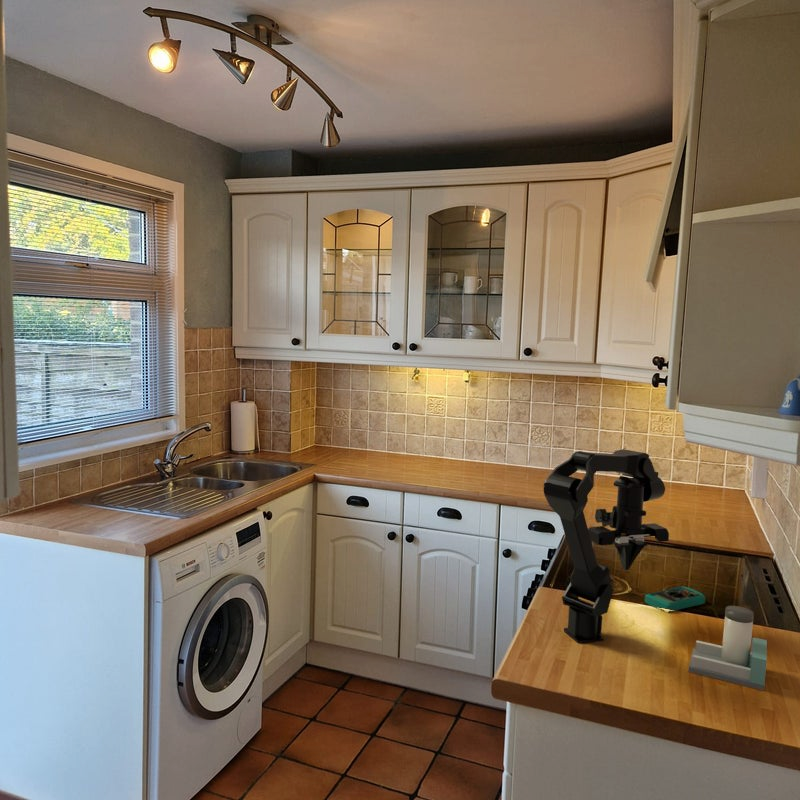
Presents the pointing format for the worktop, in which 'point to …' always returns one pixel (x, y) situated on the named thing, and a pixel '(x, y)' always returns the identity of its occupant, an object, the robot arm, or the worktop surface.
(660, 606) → the digital multimeter
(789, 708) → the worktop surface
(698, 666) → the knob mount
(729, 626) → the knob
